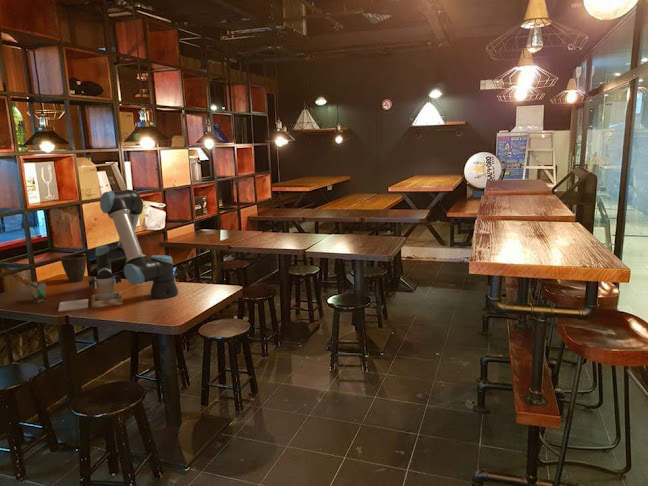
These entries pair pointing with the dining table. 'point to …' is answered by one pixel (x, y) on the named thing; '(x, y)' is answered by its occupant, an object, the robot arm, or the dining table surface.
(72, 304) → the grey mat
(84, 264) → the plant pot
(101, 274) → the coffee cup
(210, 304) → the dining table surface
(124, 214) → the robot arm
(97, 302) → the cup holder
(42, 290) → the food container
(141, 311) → the dining table surface
